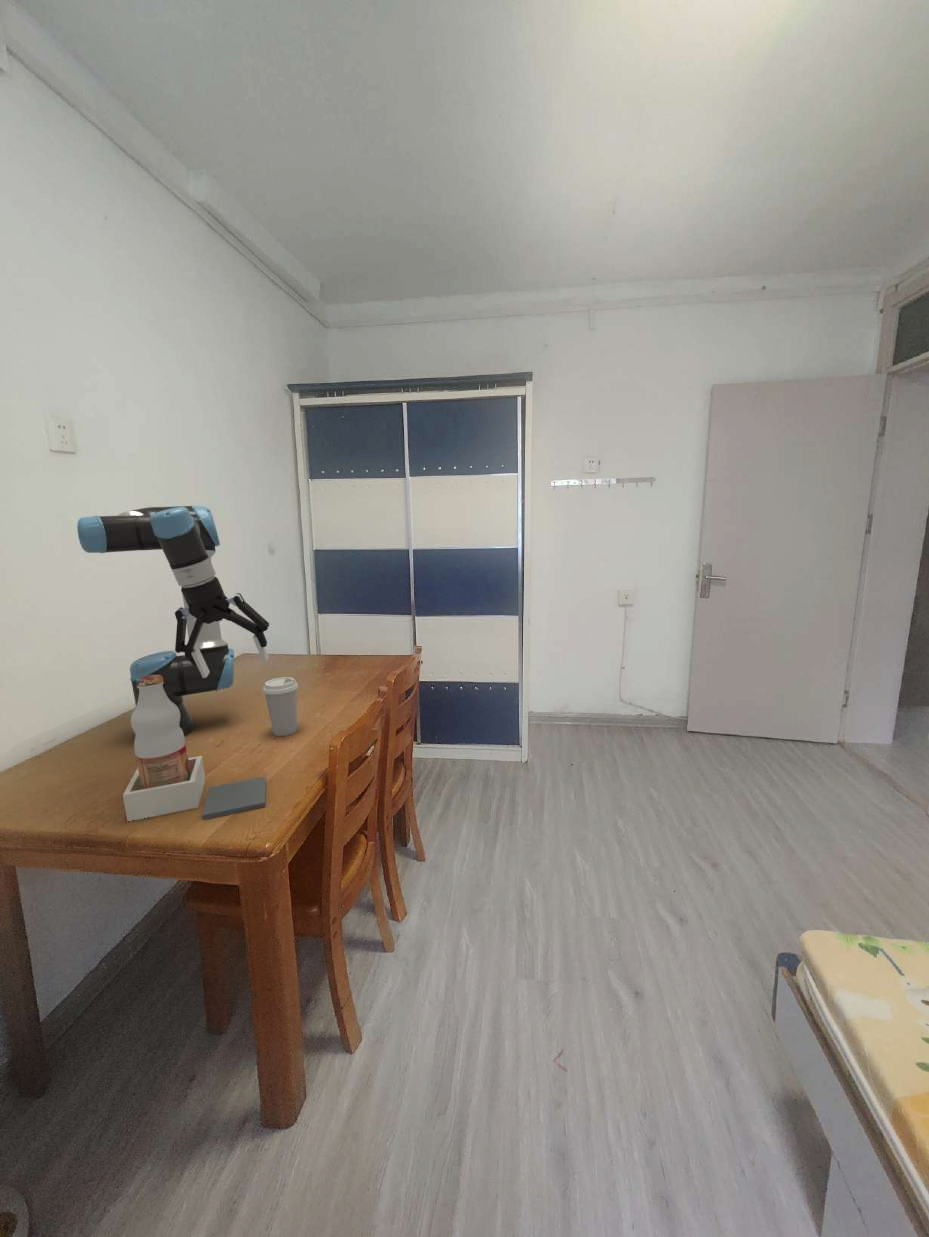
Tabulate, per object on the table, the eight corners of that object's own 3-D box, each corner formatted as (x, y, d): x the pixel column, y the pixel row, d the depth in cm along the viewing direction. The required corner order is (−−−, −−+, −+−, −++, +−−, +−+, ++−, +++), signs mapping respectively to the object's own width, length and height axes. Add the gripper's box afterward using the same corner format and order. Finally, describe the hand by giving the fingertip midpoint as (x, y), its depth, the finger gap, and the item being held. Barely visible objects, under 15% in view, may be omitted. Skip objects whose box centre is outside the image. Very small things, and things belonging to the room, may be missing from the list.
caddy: (142, 791, 117) (138, 766, 116) (205, 779, 121) (201, 755, 120) (127, 821, 105) (122, 795, 104) (198, 807, 109) (194, 781, 108)
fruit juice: (134, 805, 111) (112, 682, 105) (175, 784, 119) (156, 669, 114) (163, 815, 107) (141, 687, 101) (202, 792, 115) (184, 673, 110)
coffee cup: (292, 739, 142) (286, 687, 139) (260, 737, 144) (254, 686, 141) (308, 725, 151) (303, 676, 148) (279, 724, 153) (274, 675, 150)
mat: (209, 791, 116) (208, 787, 116) (266, 780, 120) (265, 776, 120) (202, 819, 105) (202, 815, 105) (265, 806, 109) (265, 802, 109)
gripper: (131, 602, 104) (175, 689, 113) (253, 572, 106) (288, 660, 115) (145, 590, 111) (186, 673, 120) (260, 562, 113) (292, 646, 122)
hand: (236, 667), depth 117 cm, fingers open, 13 cm apart
